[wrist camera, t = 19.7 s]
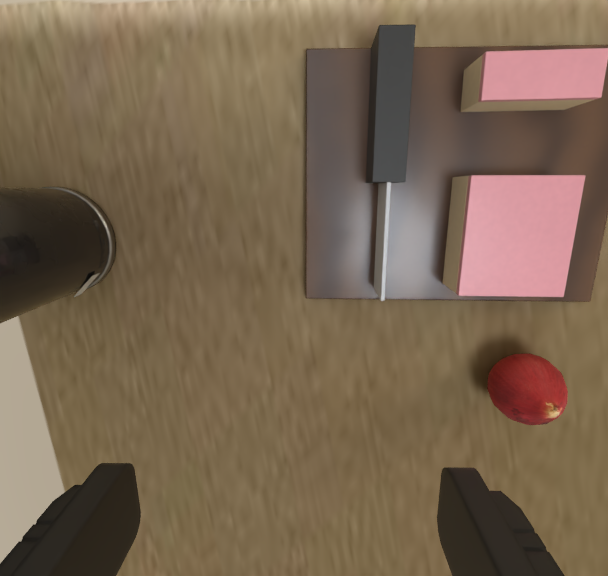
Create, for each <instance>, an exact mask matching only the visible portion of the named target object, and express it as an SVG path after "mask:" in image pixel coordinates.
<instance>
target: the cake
mask: <svg viewBox="0 0 608 576" xmlns="http://www.w3.org/2000/svg"><path fill="white" fill-rule="evenodd" d="M584 181H585V175H470V176H460V177H453V179H452V190H451V200H450V211H449V221H448V231H447V242H446V252H445V263H444V273H443V284H444V285H445V286H447V287H448V288H449V289H451V290H452V291H453V292H455V293H456V294H457V295H458V296H518V297H564V292H565V287H566V281H567V276H568V270H569V264H570V259H571V253H572V248H573V242H574V237H575V231H576V226H577V220H578V215H579V209H580V204H581V198H582V193H583V187H584Z"/></svg>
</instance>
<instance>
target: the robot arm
mask: <svg viewBox="0 0 608 576" xmlns="http://www.w3.org/2000/svg"><path fill="white" fill-rule="evenodd" d="M115 252H116V243H115V236H114V232H113V229H112V226H111V224H110V222H109V220H108V218H107V217H106V215H105V214H104V212H103V211H102V210H101V209H100V207H99V206H98V205H97V204H96V203H94V202H93V201H92V200H91V199H89V198H88V197H87V196H85V195H83V194H81V193H79V192H77V191H74V190H72V189H68V188H62V187H43V188H0V323H2V322H4V321H7V320H9V319H11V318H14V317H16V316H19V315H21V314H24V313H26V312H28V311H31V310H33V309H36V308H38V307H41V306H43V305H45V304H48V303H50V302H53V301H55V300H57V299H60V298H63V297H65V296H67V295H70V294H72V293H75V292H78V293H77V294H76V295H75V296H74V297H76V296H78V295H80V294H82V293H83V292H84V291H85V289H87V288H90V287H92V286H94V285H96V284H97V283H99V282H100V281H101V280H102V279H103V278H104V277H105V276H106V275H107V274H108V272H109V271H110V269H111V267H112V265H113V262H114V258H115ZM437 522H438V532H439V537H440V541H441V545H442V548H443V551H444V553H445V556H446V559H447V562H448V565H449V567H450V570H451V573H452V576H564V574H563V573H562V571H561V570H560V568H559V567H558V565H557V564H556V562H555V560H554V559H553V557H552V556H551V554H550V553H549V552H547V551H546V547H545V545H544V544H543V542H542V541H541V539H540V538H539V536H538V534H535V532H534V528H533V527H532V525H531V524H530V522H529V521H528V519H527V518H526V516H525V515H524V513H523V511H522V510H521V508H519V507H518V506H517V505H516V504H515V503H514V502H513V501H511V500H510V499H509V498H508V497H507V496H506V495H505V494H503V493H502V492H501V491H489V489H488V488H487V486H486V484H485V483H484V481H483V479H482V478H481V476H480V474H479V473H478V471H477V470H476V469H475V468H443V470H442V474H441V483H440V494H439V504H438V515H437ZM139 524H140V504H139V497H138V490H137V483H136V476H135V470H134V467H133V465H132V464H130V463H101V464H99V465H98V466H97V467H96V468H95V469H94V470H93V472H92V473H91V474H90V475H89V477H88V478H87V479H86V480H85V482H84V483H83V484H82V485H74V486H73V487H72V488H70V489H69V490H68V491H66V492H65V493H64V494H62V495H61V496H60V497H58V498H57V499H55V500H54V501H53V502H52V503H51V504H50V506H49V507H48V508H47V509H46V510H45V512H44V513H43V514H42V515H41V516H40V517H39V519H38V520H37V523H36V525H33V526H32V527H31V528H30V529H29V531H28V532H27V533H26V534H25V535H24V536H23V539H22V541H21V542H18V543H17V545H16V546H15V547H14V548H13V549H12V551H11V552H10V553H9V554H8V555H7V556H6V558H5V559H4V560H3V561H2V562H1V564H0V576H116V575H117V573H118V571H119V569H120V567H121V565H122V563H123V561H124V559H125V557H126V555H127V553H128V551H129V550H130V548H131V546H132V544H133V542H134V540H135V538H136V535H137V532H138V528H139Z"/></svg>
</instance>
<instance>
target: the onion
mask: <svg viewBox="0 0 608 576" xmlns="http://www.w3.org/2000/svg"><path fill="white" fill-rule="evenodd" d="M487 389H488V392H489V394H490V397H491V399H492V401H493V403H494V405H495V406H496V407H497V408H498V409H499V410H500V411H501V412H502V413H503V414H504V415H506V416H507V417H508V418H510V419H512V420H514V421H517V422H520V423H523V424H527V425H539V424H547V423H549V422H551V421H553V420H555V419H556V418H558V417H559V416H560V415H561V414H562V413H563V411H564V409H565V407H566V404H567V393H568V391H567V387H566V384H565V381H564V378H563V376H562V374H561V372H560V371H559V370H558V369H557V368H556V367H554V366H553V365H552V364H551V363H550V362H549V361H547V360H546V359H544V358H542V357H539V356H536V355H533V354H513V355H510V356H508V357H505V358H503V359H501V360H500V361H499V362H497V363H496V364H495V365H494V366H493V368H492V369H491V371H490V373H489V376H488V387H487Z"/></svg>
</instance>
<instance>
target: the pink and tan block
mask: <svg viewBox="0 0 608 576" xmlns="http://www.w3.org/2000/svg"><path fill="white" fill-rule="evenodd" d="M607 61H608V48H594V49H558V50H522V51H487V52H485V53H484V54H483V55H482V56H480V57H479V58H478V59H477V60H476V61H474V62H473V63H472V64H471V65H470V66H468V67H467V68H466V69H465V70H464V76H463V88H462V100H461V112H489V111H535V110H565V109H568V108H571V107H574V106H577V105H580V104H583V103H586V102H589V101H592V100H595V99H598V98H601V97H602V91H603V85H604V79H605V73H606V67H607Z"/></svg>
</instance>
